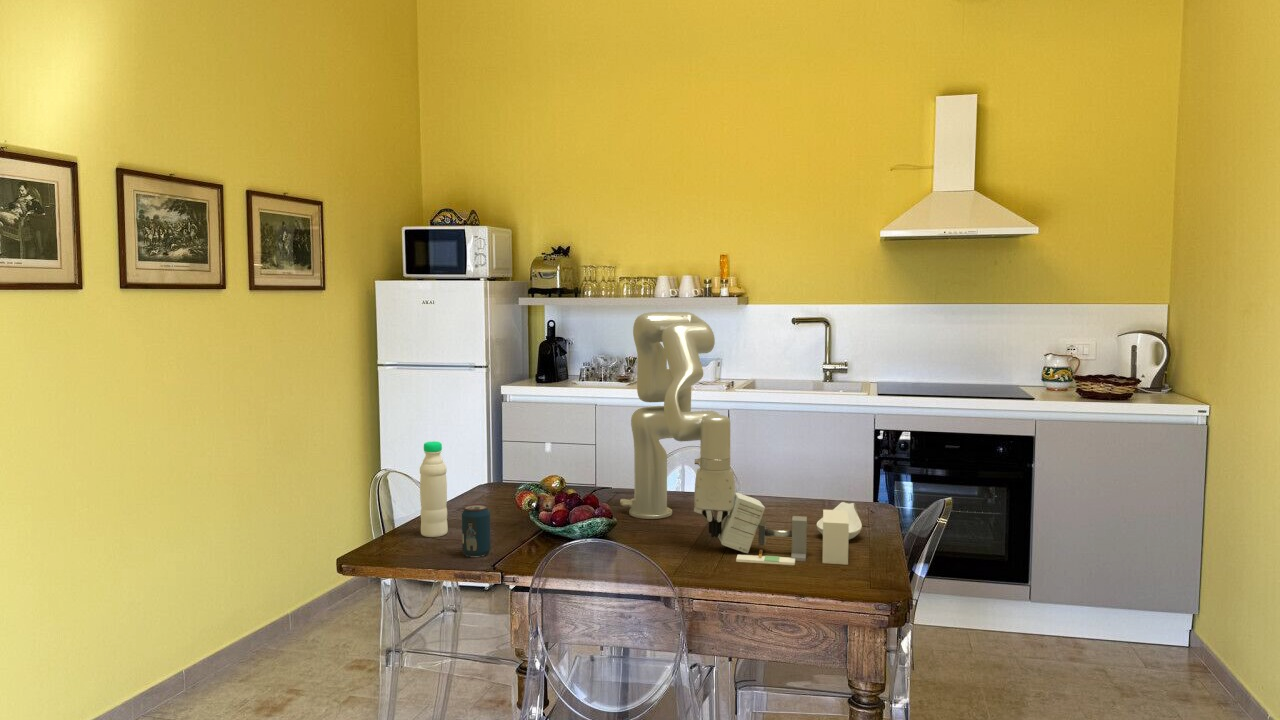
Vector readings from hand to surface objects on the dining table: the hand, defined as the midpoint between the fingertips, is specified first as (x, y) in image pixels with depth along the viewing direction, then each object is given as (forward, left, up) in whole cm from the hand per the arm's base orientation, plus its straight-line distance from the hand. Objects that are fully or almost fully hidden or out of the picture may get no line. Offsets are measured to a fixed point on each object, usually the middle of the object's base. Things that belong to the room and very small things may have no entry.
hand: (715, 535), depth 231 cm
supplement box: (+4, 0, -3) cm, 5 cm away
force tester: (+19, -1, -4) cm, 20 cm away
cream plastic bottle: (-76, -1, -4) cm, 76 cm away
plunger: (+16, -2, -3) cm, 16 cm away
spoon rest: (+32, +24, -4) cm, 40 cm away
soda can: (-58, -16, -4) cm, 60 cm away
